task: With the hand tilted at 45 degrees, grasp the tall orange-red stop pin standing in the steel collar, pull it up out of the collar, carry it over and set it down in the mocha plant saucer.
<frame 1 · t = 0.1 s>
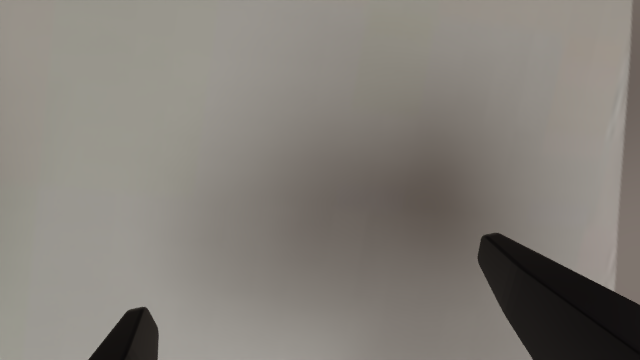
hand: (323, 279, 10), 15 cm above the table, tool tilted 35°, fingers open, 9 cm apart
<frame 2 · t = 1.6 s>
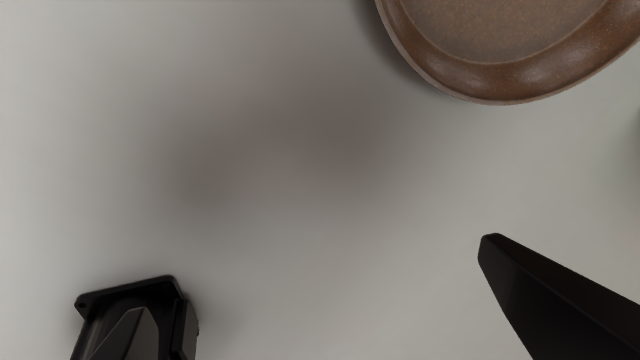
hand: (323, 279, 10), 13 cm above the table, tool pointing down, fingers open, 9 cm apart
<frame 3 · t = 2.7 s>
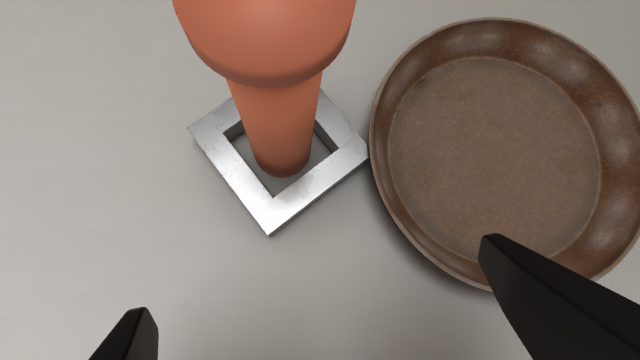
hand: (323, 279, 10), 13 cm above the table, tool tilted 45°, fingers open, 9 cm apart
stop pin: (277, 103, 17), in the collar
plant saucer: (488, 158, 26), on the table, touching collar
collar: (282, 150, 24), on the table
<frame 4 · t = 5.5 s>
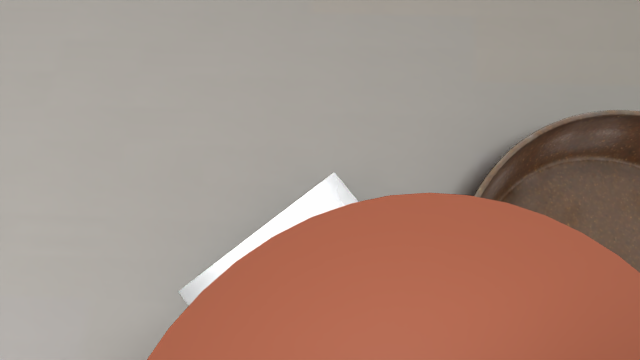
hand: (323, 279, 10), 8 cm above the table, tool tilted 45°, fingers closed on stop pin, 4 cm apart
stop pin: (333, 333, 10), in the collar, touching gripper
plant saucer: (602, 303, 18), on the table
collar: (316, 301, 17), on the table
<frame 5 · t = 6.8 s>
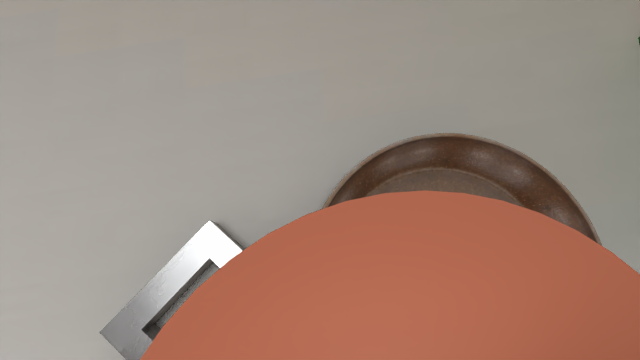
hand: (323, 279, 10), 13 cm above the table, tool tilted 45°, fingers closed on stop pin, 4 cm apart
stop pin: (332, 333, 10), point 13 cm above the table, touching gripper
plant saucer: (440, 280, 24), on the table, touching collar
collar: (216, 319, 22), on the table
when the fingers open (11 cm above the table, at t = 8.2 s): stop pin stays where it is, resting on plant saucer.
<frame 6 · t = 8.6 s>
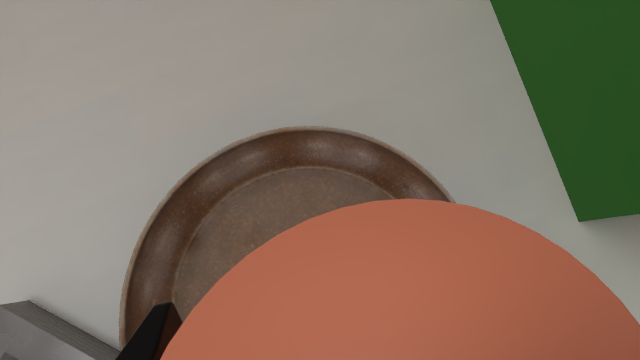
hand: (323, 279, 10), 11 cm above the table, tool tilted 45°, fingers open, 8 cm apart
stop pin: (331, 329, 10), point 10 cm above the table, touching plant saucer
plant saucer: (309, 295, 21), on the table, touching collar, stop pin
hardback book: (574, 77, 25), on the table
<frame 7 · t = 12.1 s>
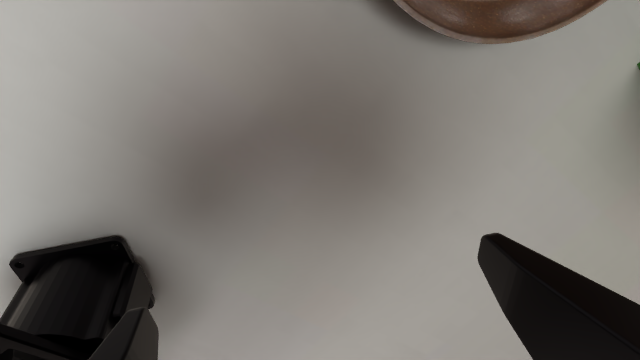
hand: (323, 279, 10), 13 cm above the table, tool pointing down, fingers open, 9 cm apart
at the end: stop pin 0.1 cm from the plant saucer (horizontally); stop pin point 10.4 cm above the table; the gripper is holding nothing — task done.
